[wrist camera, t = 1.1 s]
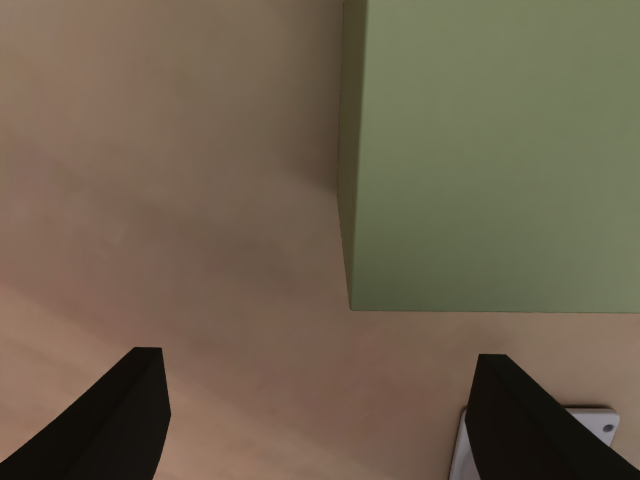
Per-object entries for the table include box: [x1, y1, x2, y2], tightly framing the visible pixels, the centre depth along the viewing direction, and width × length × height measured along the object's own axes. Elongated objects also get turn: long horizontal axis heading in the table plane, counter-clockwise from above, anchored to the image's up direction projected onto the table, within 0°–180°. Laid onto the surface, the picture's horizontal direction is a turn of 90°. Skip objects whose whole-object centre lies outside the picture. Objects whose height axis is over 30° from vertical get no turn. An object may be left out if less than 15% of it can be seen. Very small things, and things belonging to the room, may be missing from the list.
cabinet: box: [337, 0, 640, 313], centre depth 13 cm, size 14×12×8 cm
